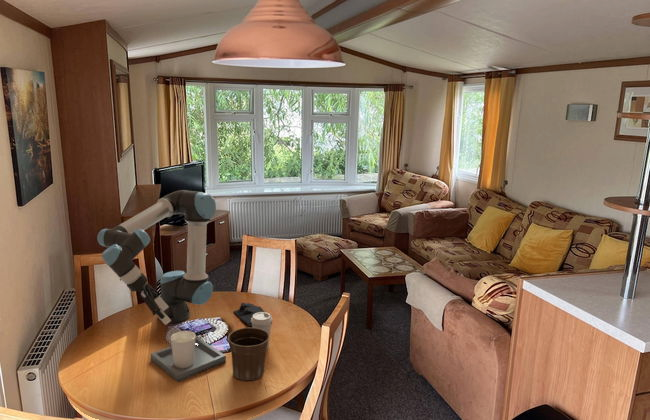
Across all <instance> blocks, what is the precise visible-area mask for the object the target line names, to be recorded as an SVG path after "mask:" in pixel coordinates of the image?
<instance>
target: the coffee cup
mask: <svg viewBox="0 0 650 420" xmlns="http://www.w3.org/2000/svg"><path fill="white" fill-rule="evenodd" d="M273 321H274V320H273V317H272V315H271V314H270V313H269V312H266V311H264V312H258V313H255V314H254V315H253V317H252V318H251V322H252V327H251V328H259V329H262V330H265V331H266V332H268V334H269V340H268V344H267V348H266V350H268V349H269V347H270V336H271V329H272V323H273ZM271 322H272V323H271Z"/></svg>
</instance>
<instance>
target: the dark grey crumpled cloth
mask: <svg viewBox="0 0 650 420" xmlns="http://www.w3.org/2000/svg"><path fill="white" fill-rule="evenodd" d="M258 312H265V311H264V310H263V308H262V306H260V305H259V306H257V305H255V304H252V303H249V302H241V304H240V306H239V309H237V310H233V313H234V314H235V315H236V316H237V318H239V319H241V320H242V321H243V322H244V324H247V326H250V327H251V326H252V322H251V318H252V317H253V315H254V314H255V313H258ZM271 324H273V321H272V322H271Z"/></svg>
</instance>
